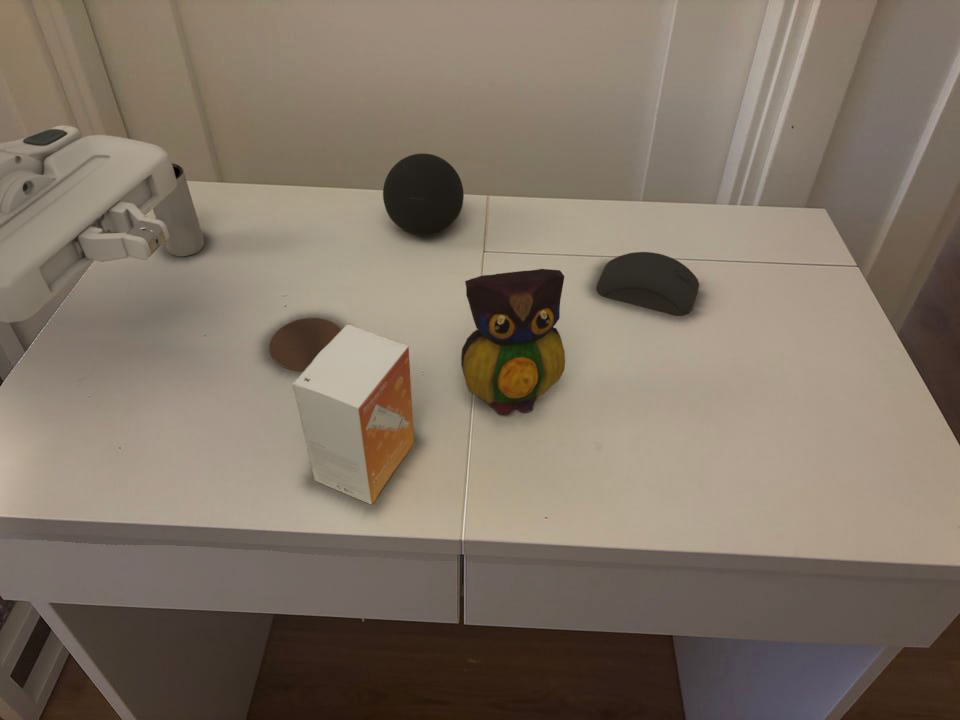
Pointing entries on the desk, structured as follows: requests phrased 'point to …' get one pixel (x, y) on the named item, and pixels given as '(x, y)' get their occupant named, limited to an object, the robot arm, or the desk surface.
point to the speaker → (423, 194)
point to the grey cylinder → (180, 218)
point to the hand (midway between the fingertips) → (157, 241)
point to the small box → (357, 411)
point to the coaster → (301, 342)
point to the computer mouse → (650, 282)
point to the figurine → (514, 338)
